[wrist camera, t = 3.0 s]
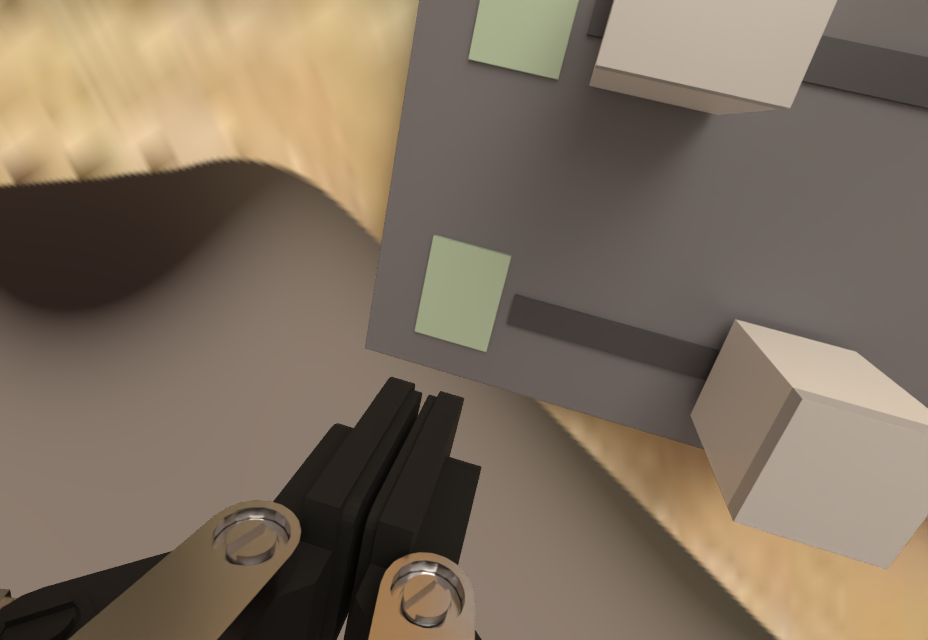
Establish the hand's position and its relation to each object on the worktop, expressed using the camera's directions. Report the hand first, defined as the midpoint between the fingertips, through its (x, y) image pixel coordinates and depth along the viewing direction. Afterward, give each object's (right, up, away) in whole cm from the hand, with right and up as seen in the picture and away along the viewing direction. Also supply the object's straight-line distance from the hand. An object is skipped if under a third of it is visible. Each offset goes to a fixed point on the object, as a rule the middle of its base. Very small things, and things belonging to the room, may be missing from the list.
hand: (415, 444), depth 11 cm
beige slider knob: (+12, 0, +7) cm, 14 cm away
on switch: (+7, +11, +4) cm, 14 cm away
